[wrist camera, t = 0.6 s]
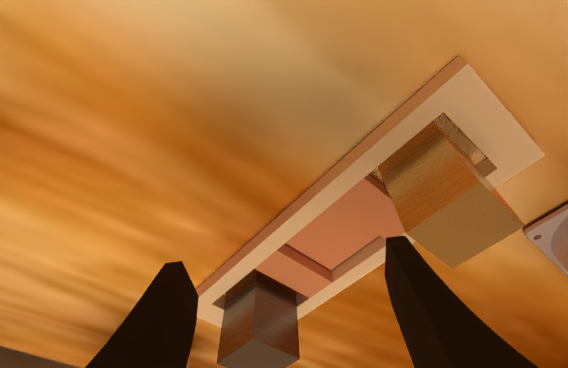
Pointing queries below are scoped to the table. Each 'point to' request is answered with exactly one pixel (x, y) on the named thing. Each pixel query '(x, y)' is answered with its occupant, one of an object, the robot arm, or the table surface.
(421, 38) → the table surface
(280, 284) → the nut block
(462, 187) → the brass block
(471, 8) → the table surface
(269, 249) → the beige rectangular frame
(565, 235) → the robot arm
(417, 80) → the table surface
